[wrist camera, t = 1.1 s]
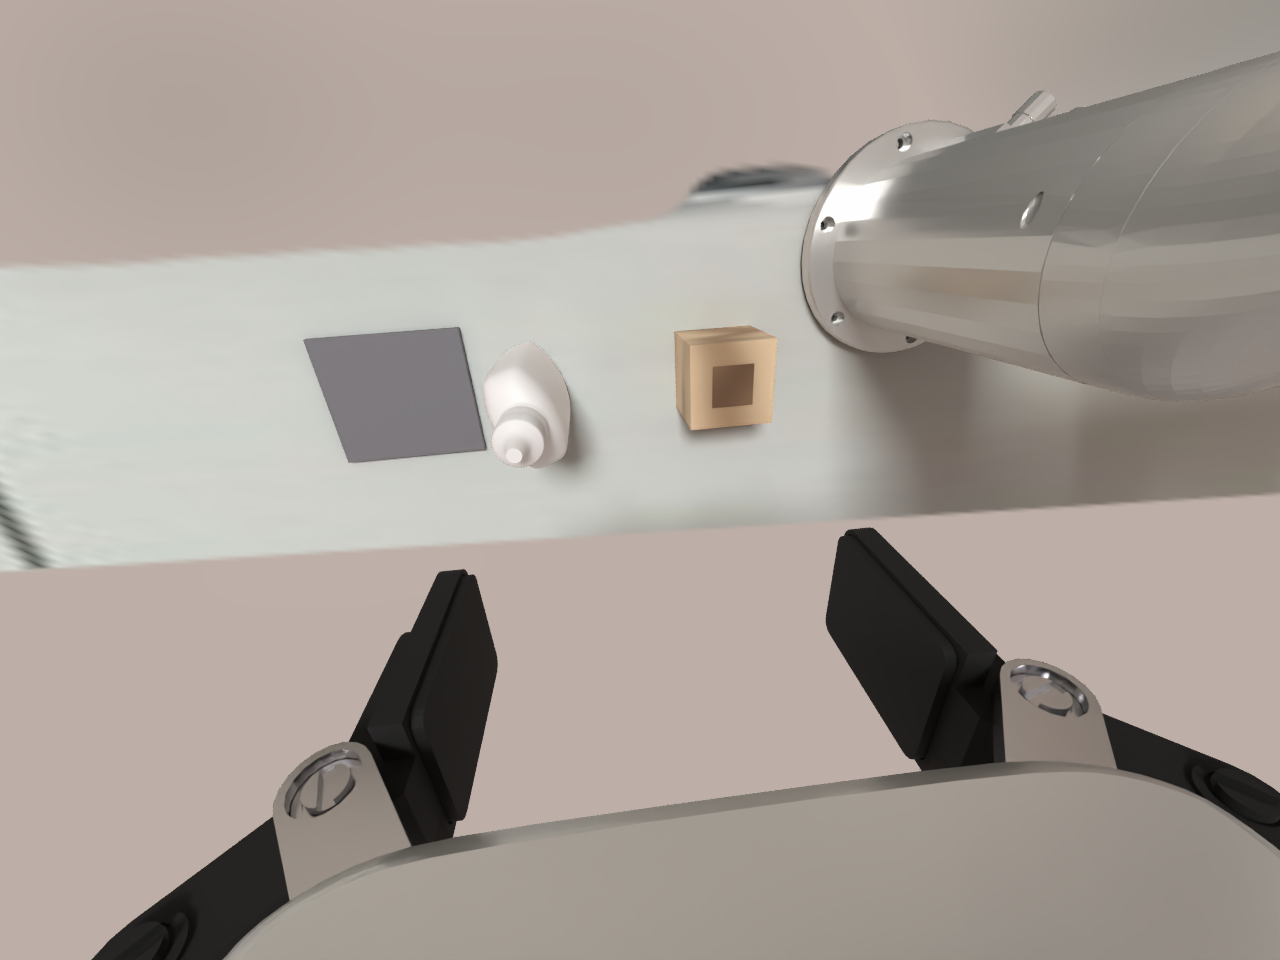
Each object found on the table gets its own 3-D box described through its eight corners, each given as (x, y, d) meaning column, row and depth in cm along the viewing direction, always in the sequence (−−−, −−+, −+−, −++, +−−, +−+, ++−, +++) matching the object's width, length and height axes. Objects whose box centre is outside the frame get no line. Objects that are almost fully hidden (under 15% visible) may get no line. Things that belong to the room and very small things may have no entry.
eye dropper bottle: (505, 422, 32) (465, 511, 21) (502, 337, 29) (456, 388, 19) (570, 426, 32) (563, 513, 22) (573, 343, 30) (567, 395, 19)
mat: (459, 327, 29) (457, 328, 28) (486, 447, 32) (484, 449, 32) (306, 339, 28) (303, 340, 28) (351, 460, 32) (348, 462, 31)
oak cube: (749, 325, 31) (778, 338, 26) (746, 399, 33) (772, 423, 28) (674, 331, 30) (690, 345, 26) (676, 405, 33) (691, 430, 28)
